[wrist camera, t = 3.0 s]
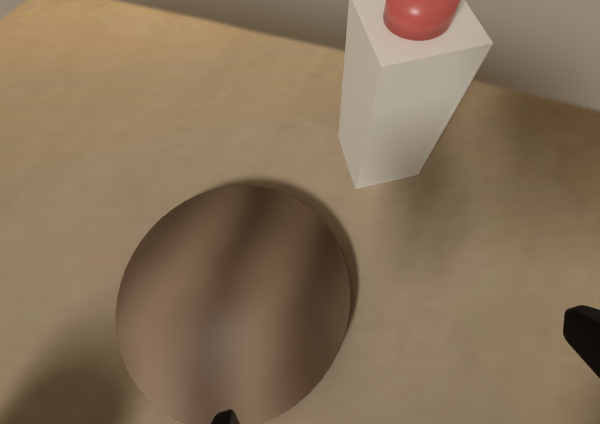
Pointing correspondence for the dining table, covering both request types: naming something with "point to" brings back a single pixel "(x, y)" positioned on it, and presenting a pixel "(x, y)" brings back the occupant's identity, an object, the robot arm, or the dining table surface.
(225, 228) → the walnut serving board
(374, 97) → the square squeeze bottle
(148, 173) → the dining table surface
